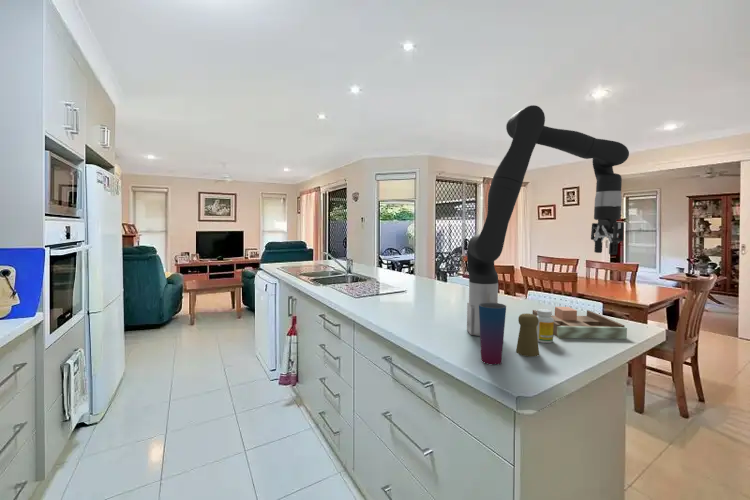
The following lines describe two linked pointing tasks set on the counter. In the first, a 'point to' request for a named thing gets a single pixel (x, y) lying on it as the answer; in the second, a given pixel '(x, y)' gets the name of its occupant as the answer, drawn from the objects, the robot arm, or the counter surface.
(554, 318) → the square tray
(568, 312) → the block
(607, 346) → the counter surface
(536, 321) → the cork
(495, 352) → the cup
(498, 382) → the counter surface
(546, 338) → the supplement bottle
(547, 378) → the counter surface
